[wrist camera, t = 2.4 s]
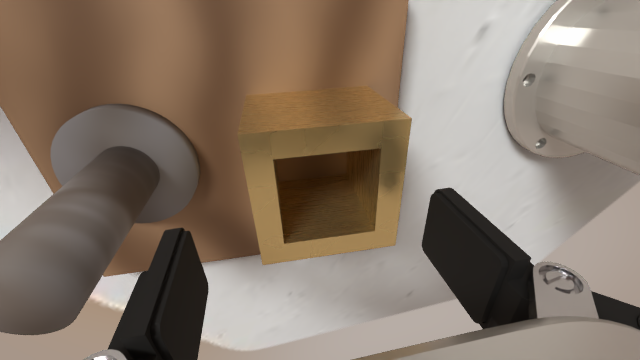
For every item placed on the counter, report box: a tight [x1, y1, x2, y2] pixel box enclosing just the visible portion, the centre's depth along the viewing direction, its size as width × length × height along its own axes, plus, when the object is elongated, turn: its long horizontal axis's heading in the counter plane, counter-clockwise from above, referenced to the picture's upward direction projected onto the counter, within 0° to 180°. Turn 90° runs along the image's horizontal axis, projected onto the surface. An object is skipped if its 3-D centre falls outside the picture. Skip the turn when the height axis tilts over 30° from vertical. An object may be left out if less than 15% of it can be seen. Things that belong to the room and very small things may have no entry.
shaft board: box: [0, 0, 408, 335], centre depth 14 cm, size 21×17×11 cm
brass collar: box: [237, 86, 412, 265], centre depth 16 cm, size 7×7×6 cm
